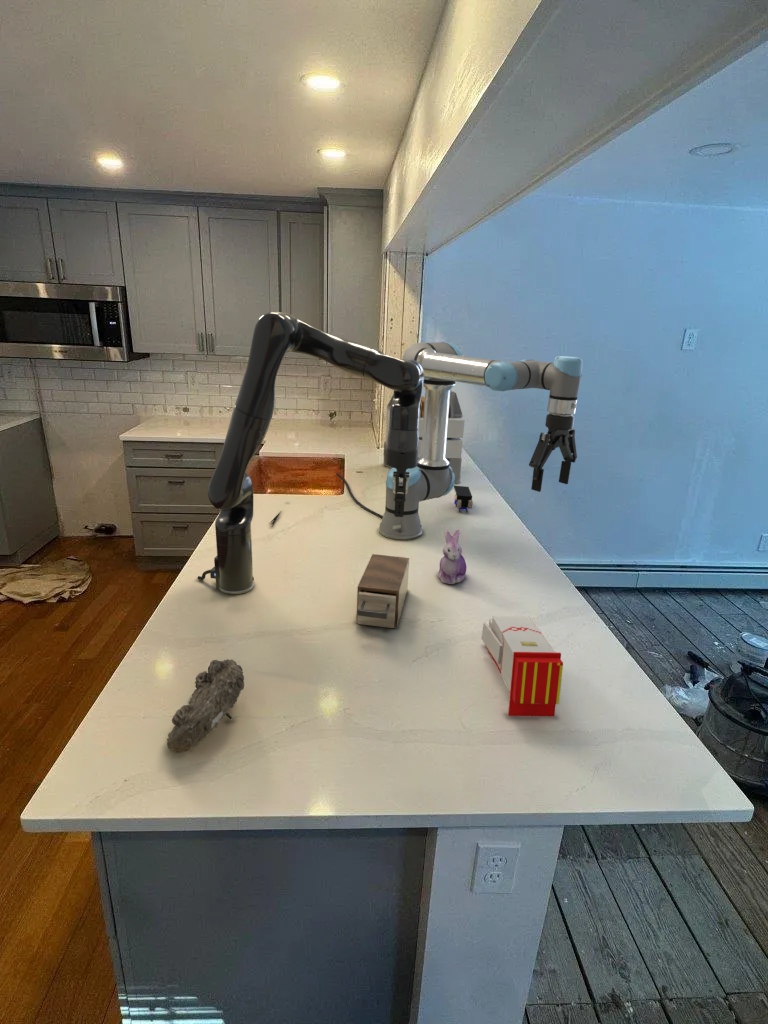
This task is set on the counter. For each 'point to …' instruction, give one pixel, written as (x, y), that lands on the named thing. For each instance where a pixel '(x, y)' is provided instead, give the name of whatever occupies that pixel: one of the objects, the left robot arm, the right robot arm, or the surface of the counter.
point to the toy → (525, 665)
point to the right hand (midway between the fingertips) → (549, 486)
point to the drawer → (376, 609)
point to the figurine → (452, 560)
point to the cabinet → (386, 579)
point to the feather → (274, 519)
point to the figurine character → (463, 498)
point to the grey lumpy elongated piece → (206, 705)
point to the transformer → (453, 434)
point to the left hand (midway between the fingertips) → (399, 510)
